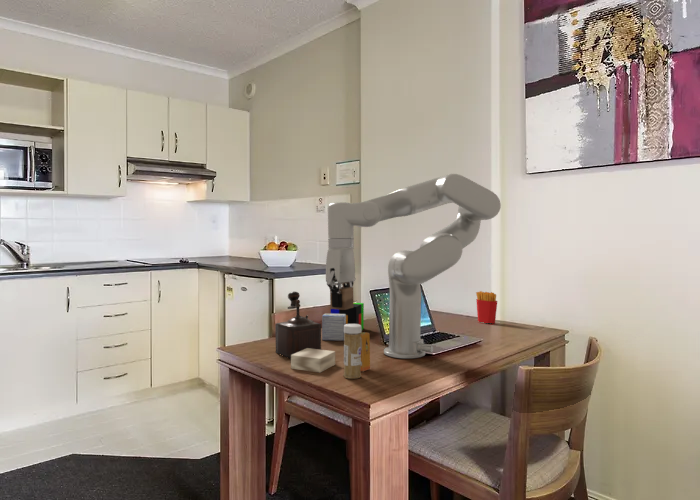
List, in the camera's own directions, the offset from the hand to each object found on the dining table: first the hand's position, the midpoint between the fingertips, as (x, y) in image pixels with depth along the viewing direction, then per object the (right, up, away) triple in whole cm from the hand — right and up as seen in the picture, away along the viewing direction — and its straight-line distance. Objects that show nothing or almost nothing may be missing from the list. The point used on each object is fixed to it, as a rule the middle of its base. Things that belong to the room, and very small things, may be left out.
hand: (342, 305), depth 145 cm
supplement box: (+5, -16, -13) cm, 21 cm away
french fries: (+59, -14, +58) cm, 84 cm away
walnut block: (0, -1, 0) cm, 1 cm away
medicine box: (-3, -15, +24) cm, 29 cm away
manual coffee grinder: (-15, -15, +6) cm, 22 cm away
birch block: (-8, -16, -10) cm, 20 cm away
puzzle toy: (+1, -14, +40) cm, 43 cm away
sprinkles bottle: (+3, -16, -20) cm, 26 cm away
